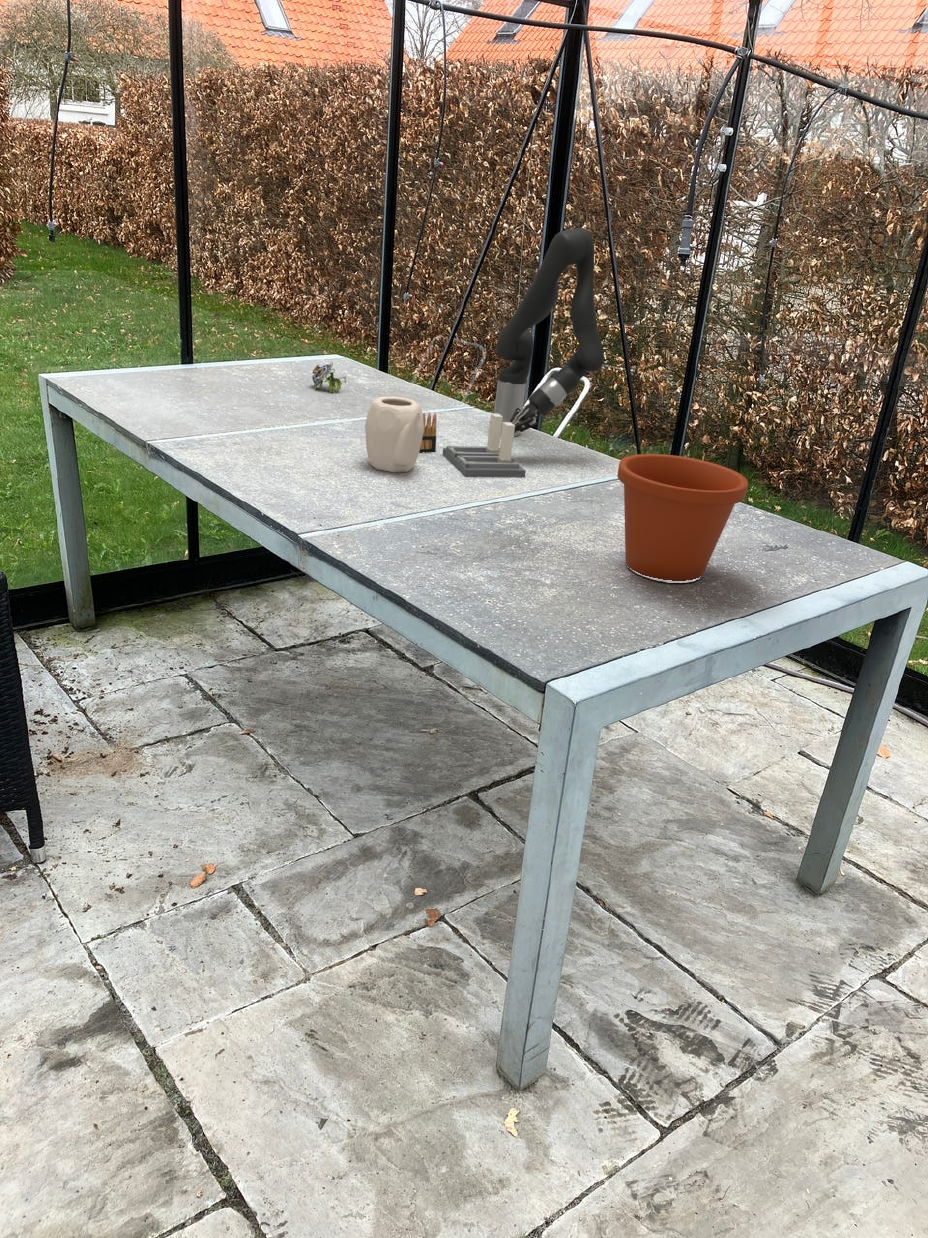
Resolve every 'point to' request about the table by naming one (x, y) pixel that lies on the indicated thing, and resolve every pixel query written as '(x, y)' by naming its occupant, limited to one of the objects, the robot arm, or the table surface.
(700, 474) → the flower pot
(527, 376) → the robot arm
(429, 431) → the ammunition clip
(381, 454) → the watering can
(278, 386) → the table surface
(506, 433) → the tab
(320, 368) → the passion flower
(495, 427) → the tab
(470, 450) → the switch board
